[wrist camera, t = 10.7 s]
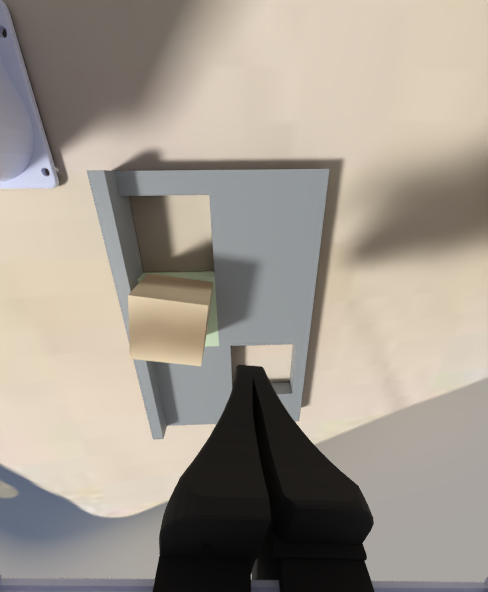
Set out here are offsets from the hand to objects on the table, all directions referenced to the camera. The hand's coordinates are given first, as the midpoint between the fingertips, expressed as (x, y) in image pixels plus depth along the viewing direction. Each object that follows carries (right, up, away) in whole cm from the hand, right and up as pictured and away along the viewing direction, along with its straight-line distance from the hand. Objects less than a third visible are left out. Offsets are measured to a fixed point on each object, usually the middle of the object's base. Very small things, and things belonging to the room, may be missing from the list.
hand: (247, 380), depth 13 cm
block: (-5, +4, +7) cm, 10 cm away
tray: (-2, +2, +10) cm, 10 cm away
